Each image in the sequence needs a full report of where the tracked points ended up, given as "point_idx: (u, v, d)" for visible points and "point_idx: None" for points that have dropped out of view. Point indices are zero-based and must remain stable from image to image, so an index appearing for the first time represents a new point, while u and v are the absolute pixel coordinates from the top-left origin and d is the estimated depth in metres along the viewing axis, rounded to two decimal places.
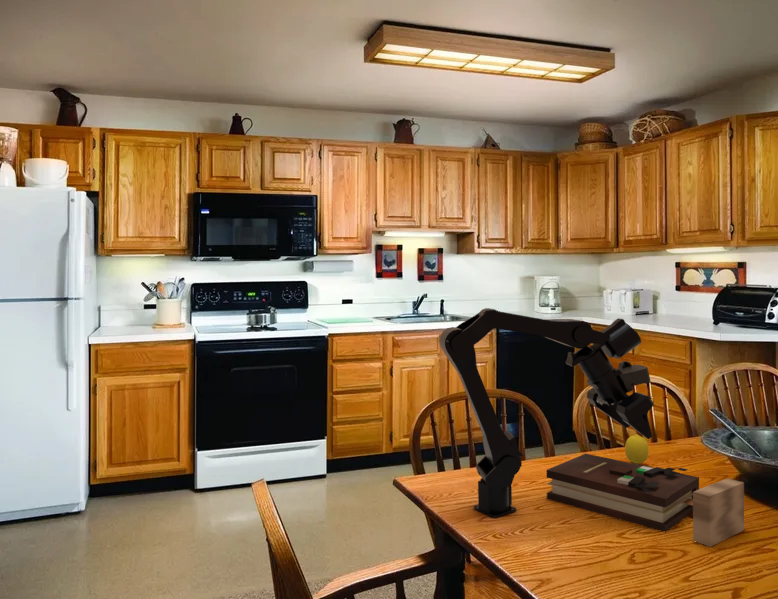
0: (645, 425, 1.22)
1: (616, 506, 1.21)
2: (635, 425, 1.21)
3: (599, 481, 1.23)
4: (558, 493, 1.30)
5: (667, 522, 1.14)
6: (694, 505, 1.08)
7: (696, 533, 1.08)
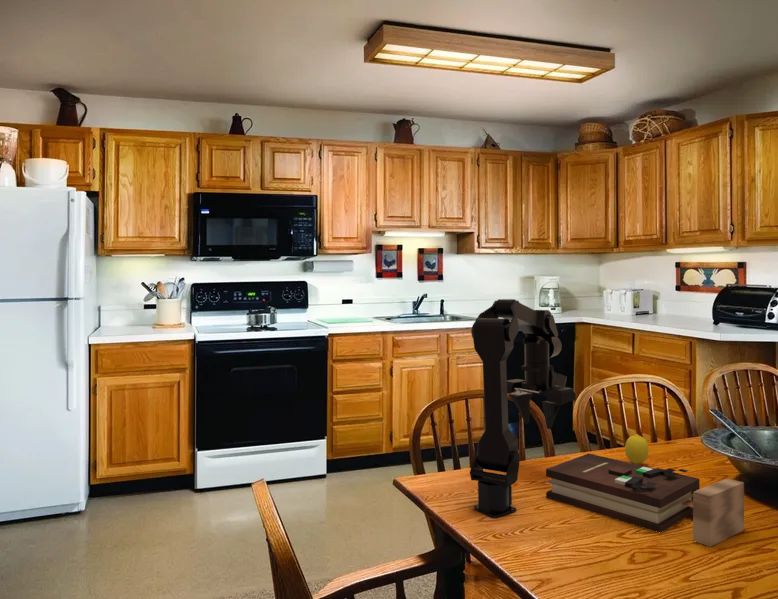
0: (553, 415, 1.43)
1: (613, 506, 1.21)
2: (549, 411, 1.41)
3: (596, 481, 1.23)
4: (557, 492, 1.31)
5: (663, 523, 1.14)
6: (694, 505, 1.08)
7: (696, 533, 1.08)
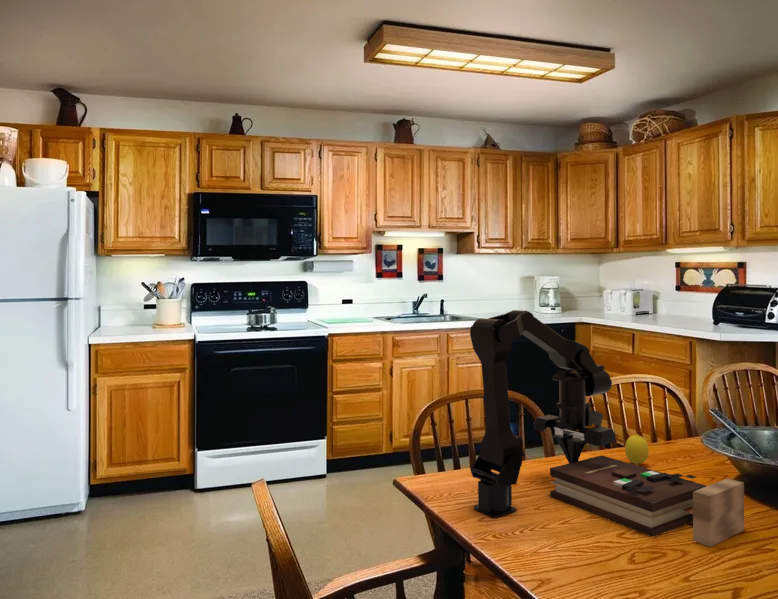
0: (578, 453, 1.37)
1: (610, 508, 1.20)
2: (574, 449, 1.36)
3: (595, 482, 1.23)
4: (560, 492, 1.31)
5: (656, 527, 1.12)
6: (694, 505, 1.08)
7: (696, 533, 1.08)
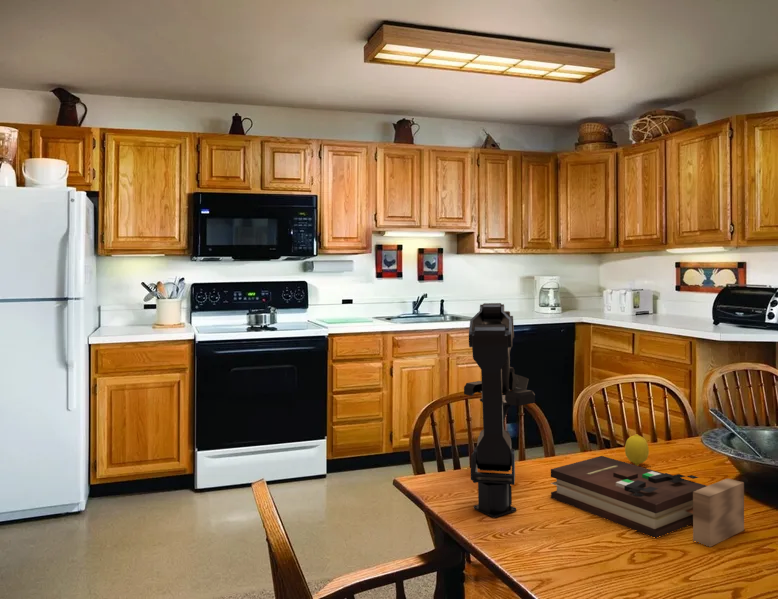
0: (502, 415, 1.44)
1: (613, 509, 1.19)
2: None
3: (597, 483, 1.22)
4: (561, 493, 1.30)
5: (660, 529, 1.11)
6: (694, 505, 1.08)
7: (696, 533, 1.08)
